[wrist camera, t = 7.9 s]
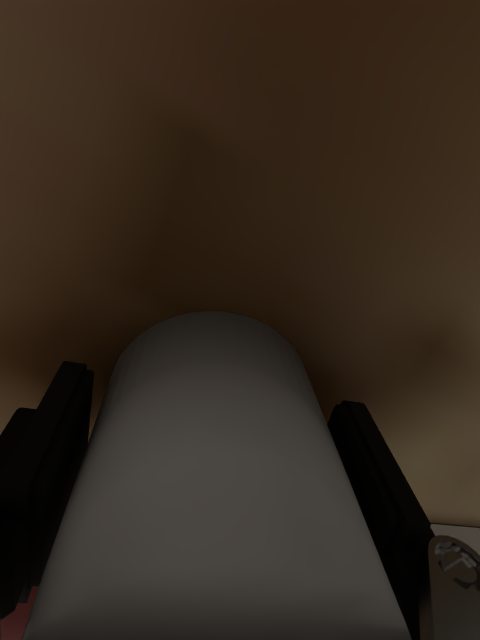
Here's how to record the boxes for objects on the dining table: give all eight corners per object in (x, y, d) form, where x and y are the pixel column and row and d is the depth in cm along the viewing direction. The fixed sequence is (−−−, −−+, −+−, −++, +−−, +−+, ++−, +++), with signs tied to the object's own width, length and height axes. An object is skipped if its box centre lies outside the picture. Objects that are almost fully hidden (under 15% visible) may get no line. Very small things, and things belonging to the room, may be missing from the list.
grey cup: (119, 293, 11) (3, 549, 4) (334, 329, 12) (484, 579, 5) (101, 461, 13) (11, 772, 7) (278, 479, 14) (337, 764, 8)
